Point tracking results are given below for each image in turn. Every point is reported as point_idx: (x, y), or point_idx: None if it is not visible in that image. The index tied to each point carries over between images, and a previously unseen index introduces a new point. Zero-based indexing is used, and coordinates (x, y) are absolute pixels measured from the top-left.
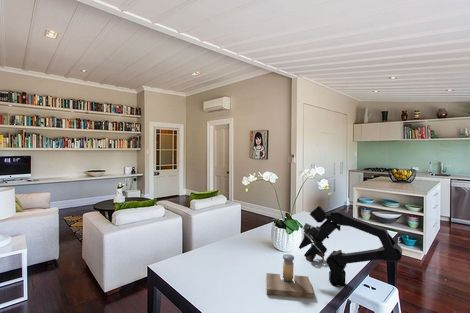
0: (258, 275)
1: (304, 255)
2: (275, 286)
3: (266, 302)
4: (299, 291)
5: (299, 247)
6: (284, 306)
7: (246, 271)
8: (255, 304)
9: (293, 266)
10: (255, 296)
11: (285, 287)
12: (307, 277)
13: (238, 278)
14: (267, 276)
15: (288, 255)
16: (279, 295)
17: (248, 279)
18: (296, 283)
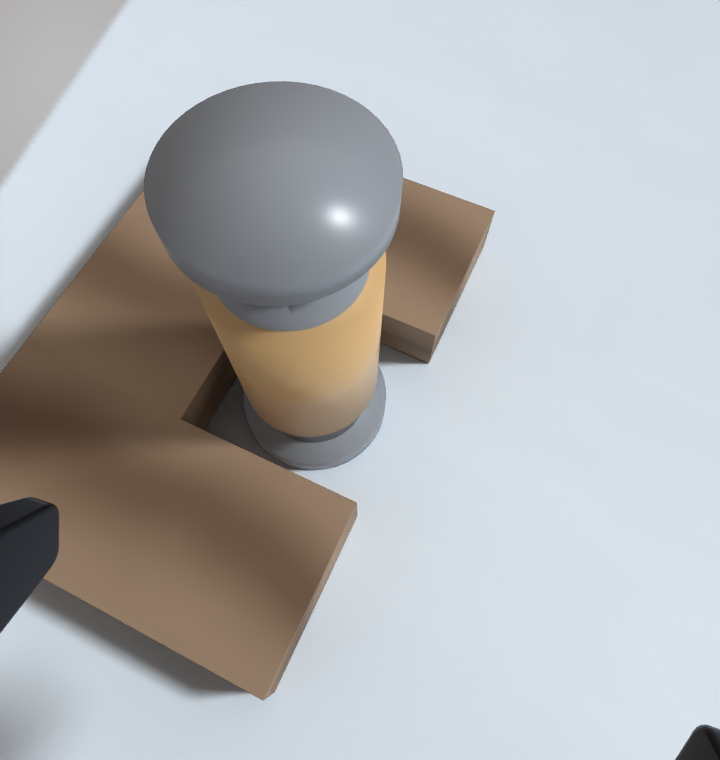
0: (550, 199)
1: (27, 502)
2: None
3: (128, 113)
4: (20, 359)
5: (701, 748)
6: (16, 204)
7: (647, 130)
8: (144, 46)
9: (242, 358)
10: (233, 74)
11: (155, 263)
12: (241, 667)
13: (527, 45)
14: (419, 191)
15: (327, 198)
16: None
17: (493, 103)
18: (169, 415)
